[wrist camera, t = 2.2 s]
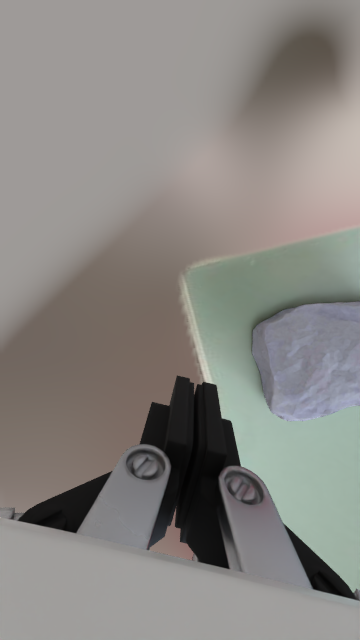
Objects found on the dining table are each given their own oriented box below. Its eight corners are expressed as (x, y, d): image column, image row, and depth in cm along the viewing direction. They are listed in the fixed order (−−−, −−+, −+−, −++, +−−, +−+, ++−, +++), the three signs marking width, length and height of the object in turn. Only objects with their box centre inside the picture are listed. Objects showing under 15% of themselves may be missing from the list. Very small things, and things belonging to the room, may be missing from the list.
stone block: (241, 316, 27) (264, 411, 27) (249, 319, 22) (278, 434, 22) (362, 286, 26) (385, 385, 26) (399, 281, 21) (427, 403, 21)
